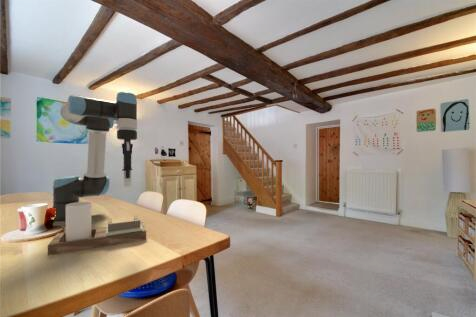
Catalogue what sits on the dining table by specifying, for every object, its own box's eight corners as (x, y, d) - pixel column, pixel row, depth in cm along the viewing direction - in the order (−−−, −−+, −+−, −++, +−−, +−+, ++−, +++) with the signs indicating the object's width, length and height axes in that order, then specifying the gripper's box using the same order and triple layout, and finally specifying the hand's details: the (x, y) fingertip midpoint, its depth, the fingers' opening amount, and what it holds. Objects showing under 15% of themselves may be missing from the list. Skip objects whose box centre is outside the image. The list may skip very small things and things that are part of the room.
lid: (107, 226, 97) (107, 217, 97) (139, 222, 103) (139, 214, 103) (106, 235, 85) (106, 225, 85) (142, 230, 92) (142, 221, 92)
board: (64, 232, 100) (64, 224, 100) (140, 222, 115) (140, 215, 115) (47, 255, 76) (47, 245, 76) (146, 239, 92) (146, 230, 92)
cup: (96, 240, 90) (96, 202, 90) (79, 248, 82) (79, 206, 82) (77, 239, 91) (77, 201, 91) (59, 247, 83) (59, 205, 83)
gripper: (116, 131, 96) (117, 185, 95) (117, 127, 84) (117, 188, 84) (135, 132, 99) (135, 184, 99) (138, 128, 88) (138, 187, 88)
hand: (127, 186), depth 91 cm, fingers closed
